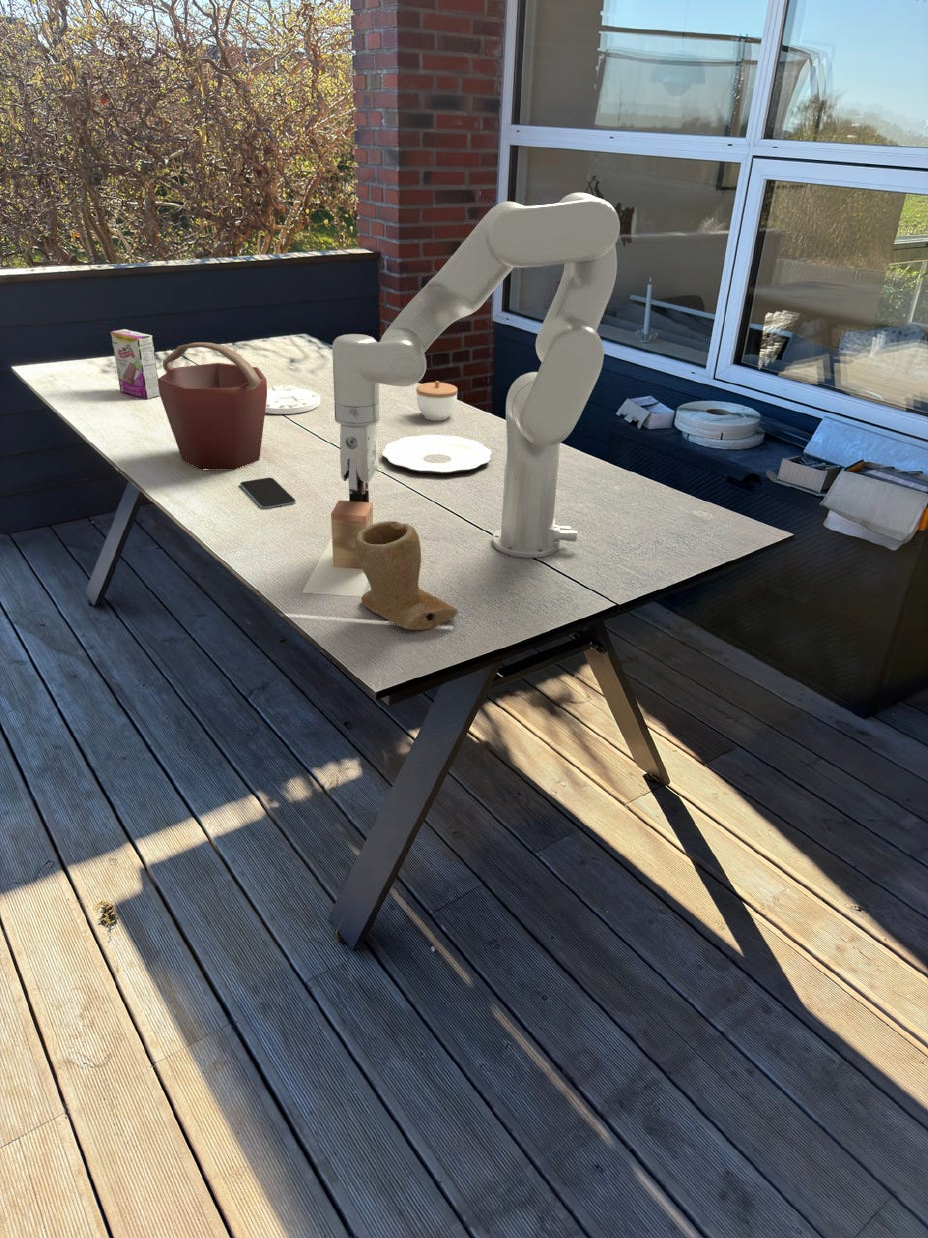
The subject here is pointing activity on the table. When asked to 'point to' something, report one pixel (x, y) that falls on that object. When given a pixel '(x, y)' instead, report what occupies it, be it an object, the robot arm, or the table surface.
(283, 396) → the white round plaque
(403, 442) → the plate
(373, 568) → the clay platform pipe
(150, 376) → the candy bar box
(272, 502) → the smartphone
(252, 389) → the bucket
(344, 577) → the mat
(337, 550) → the oak block
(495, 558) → the table surface
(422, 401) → the lidded jar
